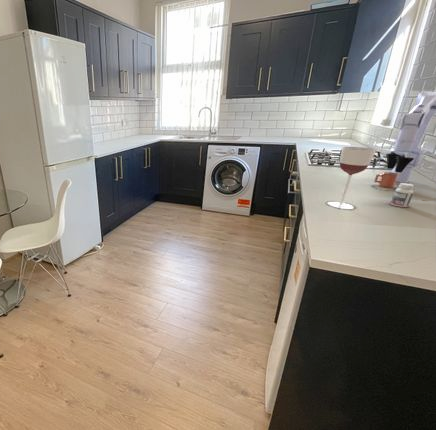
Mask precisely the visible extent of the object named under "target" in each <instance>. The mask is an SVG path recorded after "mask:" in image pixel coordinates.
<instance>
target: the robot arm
mask: <svg viewBox="0 0 436 430" xmlns="http://www.w3.org/2000/svg"><path fill="white" fill-rule="evenodd" d="M435 115H436V91H427V92H425V91H421V92H420V93H419V94H418V95H417V97H416V100H415V106H414V107H413V108H412V109H411V110H410V112H408V113H407V114H406V113H405V114H404V116H402V119H401V123H400V127H399V133H398V135H397V139H396V141H395V144H394V146H393V148H390V150H389V153H386V154H385V155H386V156H385V157H386V159H387V164H386V169H389V170H391V172H393V173H397V174H398V177H397V179H396V182H395V183H399V184H400V183H407V184H409V181H410V178H411V176H412V173H413V170H414V168H415V167H418V166H419V165H420V164H421V162H422V160H423V156H424V153H425V152H424V150H423V149H422V148H421V147H420V145H421V143H422V141H423V139H424V137H425V134H426V133H427V130H428V128H429V125H430V123H431V121H432V120H433V118H434V116H435Z"/></svg>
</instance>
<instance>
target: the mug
mask: <svg viewBox="0 0 436 430" xmlns="http://www.w3.org/2000/svg"><path fill="white" fill-rule="evenodd" d="M379 177H380V179H379ZM397 177H398V174H397V173H393V172H392V171H382V173H381V174H376V175H375V177H374V180H373V182H374V183H378V184H377V186H378V187H381V188H387V189H393V188H394V187H395V184H396V183H397V182H396V179H397ZM378 179H379V180H378Z"/></svg>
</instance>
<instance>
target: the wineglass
mask: <svg viewBox="0 0 436 430" xmlns="http://www.w3.org/2000/svg"><path fill="white" fill-rule="evenodd" d="M376 150H377V149H375V148H371V147H361V146H342V148H341V153H340V157H339V167H340V169H341V170H342V171H343V172H345V173H346V174H347V175H348V176H347V179H346V183H345V184H344V185H345V186H344V188H343V191H342V194H341V198H340V201H329V202H327V205H329V206H330V207H333V208H335V209H336V208H337V209H342V210H353V209H355V208H354V206H353V205H351V204H349V203H345V202H344V201H345V197H346V194H347V191H348V188H349V185H350V181H351V179H352V176H353V175H356V174H360V173H362V172H364V171H365V170H366V169H367V168H368V167H369V165H370V163H371V162H372V159H373V158H374V156H375V153H376V152H377V151H376Z"/></svg>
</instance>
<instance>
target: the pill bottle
mask: <svg viewBox="0 0 436 430" xmlns="http://www.w3.org/2000/svg"><path fill="white" fill-rule="evenodd" d="M414 187H415V185H414V184H412V183H399V186H398V187H397V188H396V189H395V190H394V192H393V195H392V198H391V201H390V205H391V206H395V207H399V208H408V207H409V205H410V204H411V203H410V202H411V200H412V198H413V195H414V190H413V189H414Z"/></svg>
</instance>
